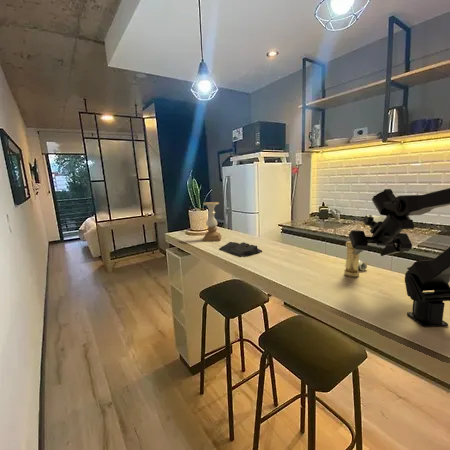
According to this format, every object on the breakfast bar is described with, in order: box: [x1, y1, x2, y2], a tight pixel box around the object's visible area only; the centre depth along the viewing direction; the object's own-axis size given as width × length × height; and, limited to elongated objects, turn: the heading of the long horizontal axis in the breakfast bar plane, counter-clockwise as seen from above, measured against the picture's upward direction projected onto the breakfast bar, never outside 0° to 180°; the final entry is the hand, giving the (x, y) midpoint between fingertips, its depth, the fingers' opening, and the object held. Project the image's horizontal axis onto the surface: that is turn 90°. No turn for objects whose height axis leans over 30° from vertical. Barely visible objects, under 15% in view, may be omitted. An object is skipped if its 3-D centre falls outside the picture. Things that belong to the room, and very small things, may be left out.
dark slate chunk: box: [218, 241, 263, 258], centre depth 143 cm, size 15×22×5 cm
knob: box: [343, 240, 360, 278], centre depth 102 cm, size 5×5×13 cm
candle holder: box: [202, 201, 222, 242], centre depth 170 cm, size 11×11×24 cm
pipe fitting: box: [358, 259, 368, 271], centre depth 111 cm, size 8×4×7 cm
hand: (368, 254), depth 94 cm, fingers open, 9 cm apart
